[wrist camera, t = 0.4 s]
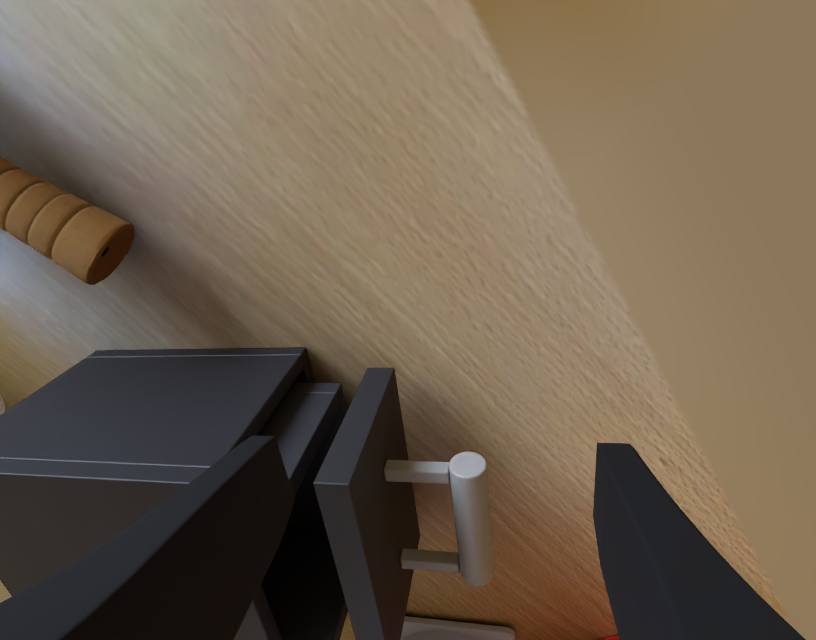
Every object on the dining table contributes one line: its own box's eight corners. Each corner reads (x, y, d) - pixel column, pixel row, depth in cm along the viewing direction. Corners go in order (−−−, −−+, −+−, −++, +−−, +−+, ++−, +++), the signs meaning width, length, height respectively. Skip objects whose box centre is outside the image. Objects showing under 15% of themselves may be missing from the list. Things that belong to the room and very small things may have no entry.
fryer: (306, 346, 22) (205, 484, 15) (349, 525, 27) (290, 695, 19) (96, 349, 24) (-82, 469, 17) (171, 513, 29) (58, 660, 22)
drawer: (487, 366, 20) (478, 491, 14) (497, 540, 24) (494, 691, 18) (180, 368, 23) (66, 470, 17) (239, 522, 27) (164, 646, 21)
